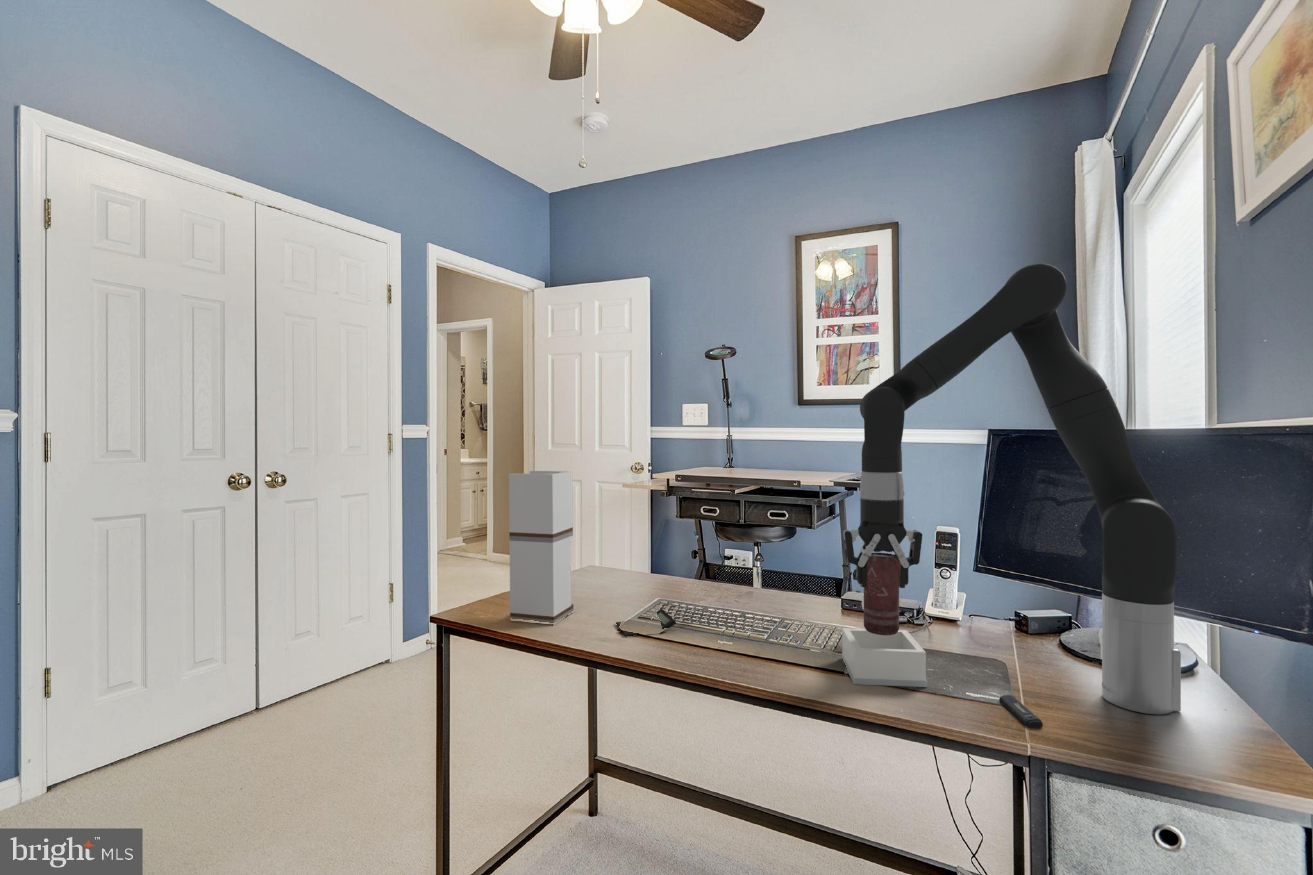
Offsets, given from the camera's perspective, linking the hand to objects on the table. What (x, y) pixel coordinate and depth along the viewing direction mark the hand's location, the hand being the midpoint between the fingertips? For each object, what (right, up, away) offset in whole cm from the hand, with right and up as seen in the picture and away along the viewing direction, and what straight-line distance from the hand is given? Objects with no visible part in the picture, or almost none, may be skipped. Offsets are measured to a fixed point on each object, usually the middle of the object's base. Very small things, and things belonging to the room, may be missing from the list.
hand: (881, 586), depth 114 cm
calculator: (-44, -16, +27) cm, 54 cm away
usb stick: (+16, -17, -17) cm, 28 cm away
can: (0, -8, 0) cm, 8 cm away
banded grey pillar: (-69, -16, +36) cm, 79 cm away
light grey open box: (0, -16, 0) cm, 16 cm away
